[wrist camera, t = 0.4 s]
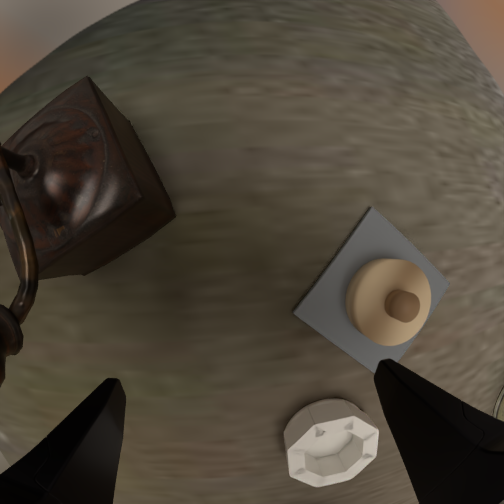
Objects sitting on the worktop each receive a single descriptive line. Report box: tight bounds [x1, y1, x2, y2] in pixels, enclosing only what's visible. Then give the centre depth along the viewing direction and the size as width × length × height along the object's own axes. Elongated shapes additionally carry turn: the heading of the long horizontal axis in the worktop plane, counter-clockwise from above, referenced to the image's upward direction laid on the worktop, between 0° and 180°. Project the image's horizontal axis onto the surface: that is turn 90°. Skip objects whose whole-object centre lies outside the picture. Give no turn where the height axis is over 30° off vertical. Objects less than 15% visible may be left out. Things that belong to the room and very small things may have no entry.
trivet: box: [293, 207, 450, 373], centre depth 24 cm, size 11×11×1 cm
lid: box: [345, 258, 431, 346], centre depth 21 cm, size 7×7×5 cm
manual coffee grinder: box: [0, 76, 176, 387], centre depth 15 cm, size 16×11×18 cm
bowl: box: [283, 398, 379, 487], centre depth 23 cm, size 8×8×4 cm
